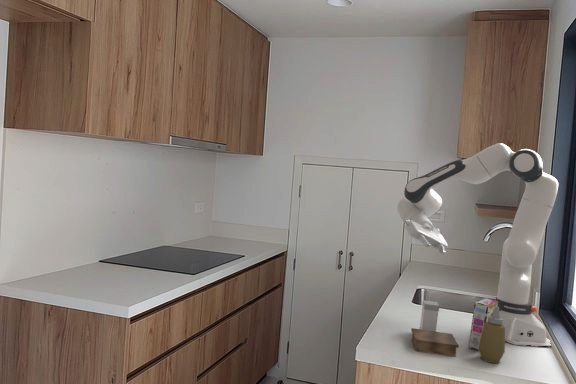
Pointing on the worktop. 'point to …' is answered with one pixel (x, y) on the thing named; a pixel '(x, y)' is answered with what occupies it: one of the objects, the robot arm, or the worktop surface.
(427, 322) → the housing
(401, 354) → the worktop surface
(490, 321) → the squeeze bottle
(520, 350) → the worktop surface
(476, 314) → the candy bar box
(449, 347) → the stand
